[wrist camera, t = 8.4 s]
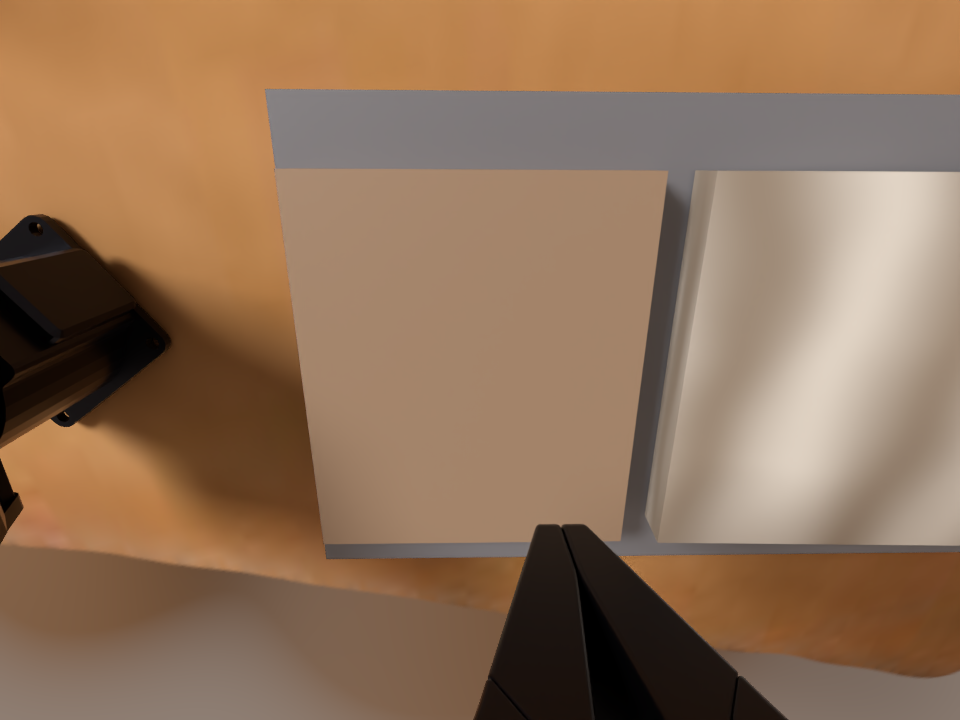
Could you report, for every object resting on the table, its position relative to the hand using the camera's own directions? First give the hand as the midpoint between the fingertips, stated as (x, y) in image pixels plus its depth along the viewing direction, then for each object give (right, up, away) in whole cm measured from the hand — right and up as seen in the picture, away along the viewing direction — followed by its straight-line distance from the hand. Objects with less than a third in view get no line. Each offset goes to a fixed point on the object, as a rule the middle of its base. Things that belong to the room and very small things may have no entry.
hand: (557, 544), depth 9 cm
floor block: (+6, +5, +12) cm, 15 cm away
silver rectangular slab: (+12, +3, +8) cm, 15 cm away
